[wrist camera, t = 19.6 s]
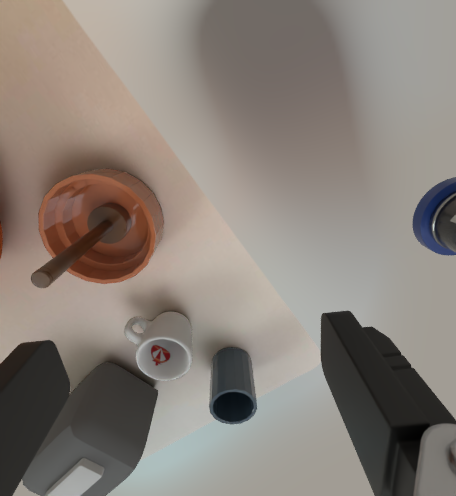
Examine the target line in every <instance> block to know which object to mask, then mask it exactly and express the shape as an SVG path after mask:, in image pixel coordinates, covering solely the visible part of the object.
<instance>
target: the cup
mask: <svg viewBox="0 0 456 496" xmlns="http://www.w3.org/2000/svg"><path fill="white" fill-rule="evenodd" d="M134 324H137V325H140V326H141V327H142V328H143V331H144V332H143V333H141V334H139V333H136V332H134V331H133V329H132V325H134ZM124 333H125V336H126V337H127V338H128V339H129V340H130V341H131V342H133V343H135V344H136V345H137V346H138V348H137V351H136V362H137V365H138V367H139V368H140V370H141V371H142V372H143V373H144V374H145V375H147V376H149V377H151V378H153V379H156V380H161V381H169V380H174V379H177V378H180V377H181V376H183V375H184V374H185V373H186V372H187V371H188V370H189V368H190V366H191V364H192V328H191V324H190V322H189V320H188V319H187V318H186V317H185V316H184V315H182V314H180V313H177V312H165V313H162V314H160V315H158V316H157V317H156V318H155V319H154V320H153V321H148V320H146V319H144V318H142V317H133V318H132V319H130V320H129V321H128V323H127V324H126V326H125V330H124Z"/></svg>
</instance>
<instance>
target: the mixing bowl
mask: <svg viewBox="0 0 456 496" xmlns="http://www.w3.org/2000/svg"><path fill="white" fill-rule="evenodd" d="M105 203H116V204H119V205H121V206H122V207H124V208H125V209H126V210H127V211H128V213H129V215H130V217H131V221H132V224H131V229H130V231H129V232H128V233H127V234H126V235H125V237H124V238H123V239H122V240H120V241H119V242H117V243H113V244H106V243H102V242H100V241H99V242H98V243H96V244H95V245H94V246H93V247H92V248H91V249H90V250H89V251H87V252H86V253H85V254H84V255H83V256H82V257H81V258H80V259H79V260H77V261H76V262H75V263H74V264H73V265H72V266H71V267H70V268H68V269H67V270H66V271H68V272H69V273H70V274H72V275H75V276H77V277H79V278H81V279H83V280H86V281H90V282H96V283H102V284H107V283H117V282H122V281H124V280H126V279H129V278H131V277H133V276H135V275H137V274H138V273H139V272H140V271H141V270H142V269H143V268H144V267H145V266H146V265H147V264H148V262H149V260H150V259H151V257H152V255H153V253H154V252H155V250H156V248H157V246H158V244H159V242H160V240H161V238H162V233H163V226H164V221H163V216H162V211H161V207H160V205H159V203H158V201H157V200H156V198H155V196H154V194H153V193H152V191H151V190H149V189H148V188H147V187H146V186H145V185H144V184H143V183H142V182H141V181H140V180H139V179H137V178H135V177H133V176H132V175H130V174H128V173H126V172H123V171H118V170H113V169H108V168H106V169H97V170H90V171H87V172H83V173H80V174H77V175H73V176H71V177H69V178H67V179H64V180H62V181H60V182H58V183H56V184H55V185H54V186H53V188H52V189H51V190H50V191H49V192H48V193H47V194H46V195H45V197H44V199H43V202H42V205H41V208H40V210H39V232H40V235H41V237H42V240H43V243H44V246H45V248H46V249H47V251H48V252H49V253H50V255H51V256H52V258H54V257H56V256H57V255H58V254H60V253H61V252H62V251H64V250H65V249H66V248H68V247H69V246H70V245H72V244H73V243H74V242H75V241H77V240H78V239H79V238H81V237H82V236H83V235H85V234H86V233H87V232H89V229H88V226H87V220H88V216H89V214H90V213H91V212H92V211H93V210H94V209H96V208H97V207H99V206H101V205H102V204H105Z"/></svg>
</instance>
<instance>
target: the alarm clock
mask: <svg viewBox="0 0 456 496" xmlns="http://www.w3.org/2000/svg"><path fill="white" fill-rule="evenodd" d="M157 396H158V390H156V389H155V388H153V387H152V386H150V385H148V384H147V383H145V382H144V381H142V380H141V379H139V378H137V377H136V376H134V375H133V374H131V373H129V372H128V371H126V370H125V369H123V368H121V367H120V366H118V365H116V364H113V363H110V362H108V363H102V364H100V365H99V366H97V367H96V368H95V369H94V370H93V371H92V372H91V373H90V374H89V375H88V376H87V377H86V378H85V379H84V380H83V381H82V382H81V384H80V385H79V386H78V387H77V388H76V389H75V390H74V391H73V392H72V393H71V394H70V395H69V396H68V399H67V401H66V403H65V405H64V407H63V408H62V410H61V412H60V413H59V415H58V417H57V419H56V420H55V422H54V424H53V426H52V427H51V429H50V431H49V433H48V434H47V436H46V438H45V440H44V441H43V443H42V445H41V446H40V448H39V450H38V452H37V453H36V455H35V457H34V459H33V460H32V462H31V464H30V466H29V467H28V469H27V471H26V472H25V474H24V476H23V478H22V480H23V485H24V486H25V487H26V488H27V489H28V490H30V491H32V492H34V493H36V494H38V495H40V496H106V495H107V494H108V493H110V492H111V491H112V490H113V489H114V488H115V487H117V486H118V485H119V484H120V483H121V482H123V481H124V480H125V479H126V478H127V477H128V476H129V475H130V474H131V473H132V472H133V470H134V469H135V468H136V466H137V464H138V462H139V460H140V459H141V457H142V454H143V451H144V448H145V445H146V441H147V437H148V433H149V429H150V425H151V421H152V417H153V413H154V408H155V404H156V400H157Z"/></svg>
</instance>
